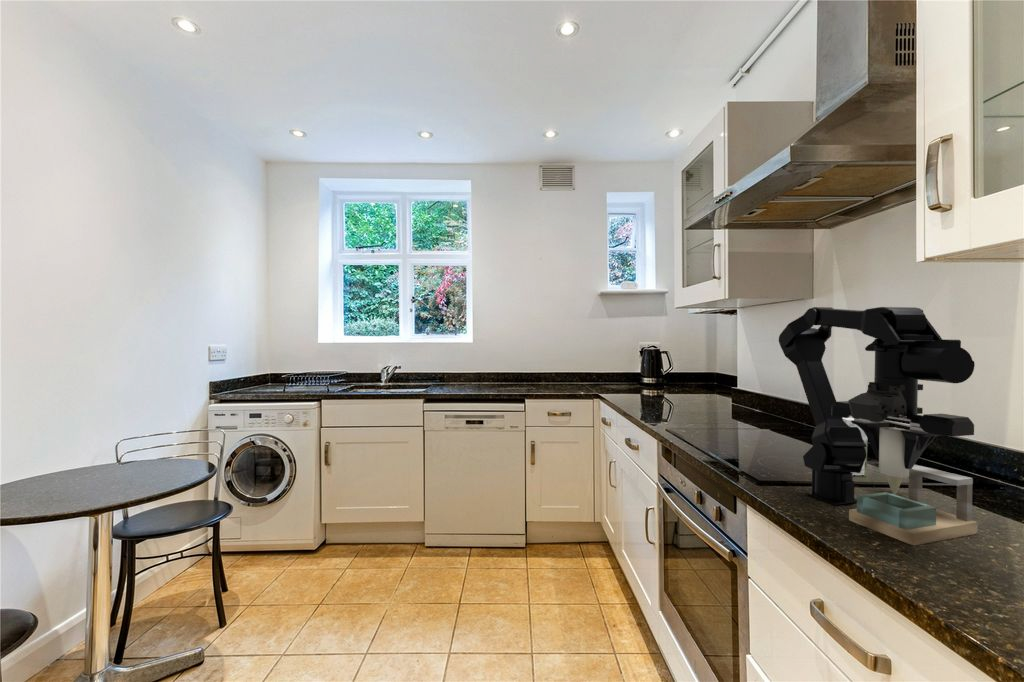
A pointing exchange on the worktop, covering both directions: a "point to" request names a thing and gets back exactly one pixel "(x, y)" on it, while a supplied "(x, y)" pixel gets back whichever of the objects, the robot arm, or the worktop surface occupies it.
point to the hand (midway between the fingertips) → (893, 465)
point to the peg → (892, 452)
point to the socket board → (917, 511)
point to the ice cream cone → (894, 483)
